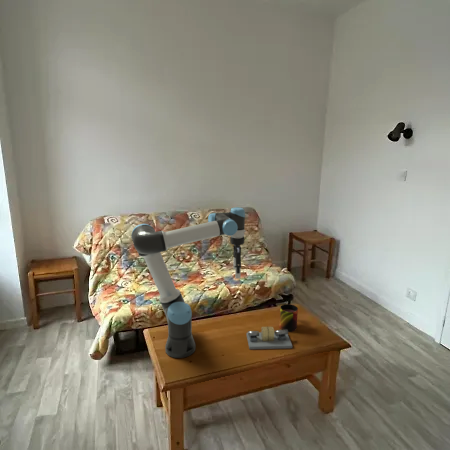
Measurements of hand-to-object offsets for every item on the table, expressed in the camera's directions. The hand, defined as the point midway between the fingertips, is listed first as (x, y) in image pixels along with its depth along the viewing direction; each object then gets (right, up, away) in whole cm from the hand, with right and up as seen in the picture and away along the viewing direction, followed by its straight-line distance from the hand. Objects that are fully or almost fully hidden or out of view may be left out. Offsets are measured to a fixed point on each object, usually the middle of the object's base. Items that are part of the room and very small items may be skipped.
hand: (236, 273), depth 189 cm
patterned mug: (+29, -31, +8) cm, 43 cm away
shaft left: (+8, -33, -9) cm, 36 cm away
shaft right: (+23, -33, -7) cm, 41 cm away
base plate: (+17, -35, -8) cm, 39 cm away
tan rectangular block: (+16, -33, -8) cm, 38 cm away
